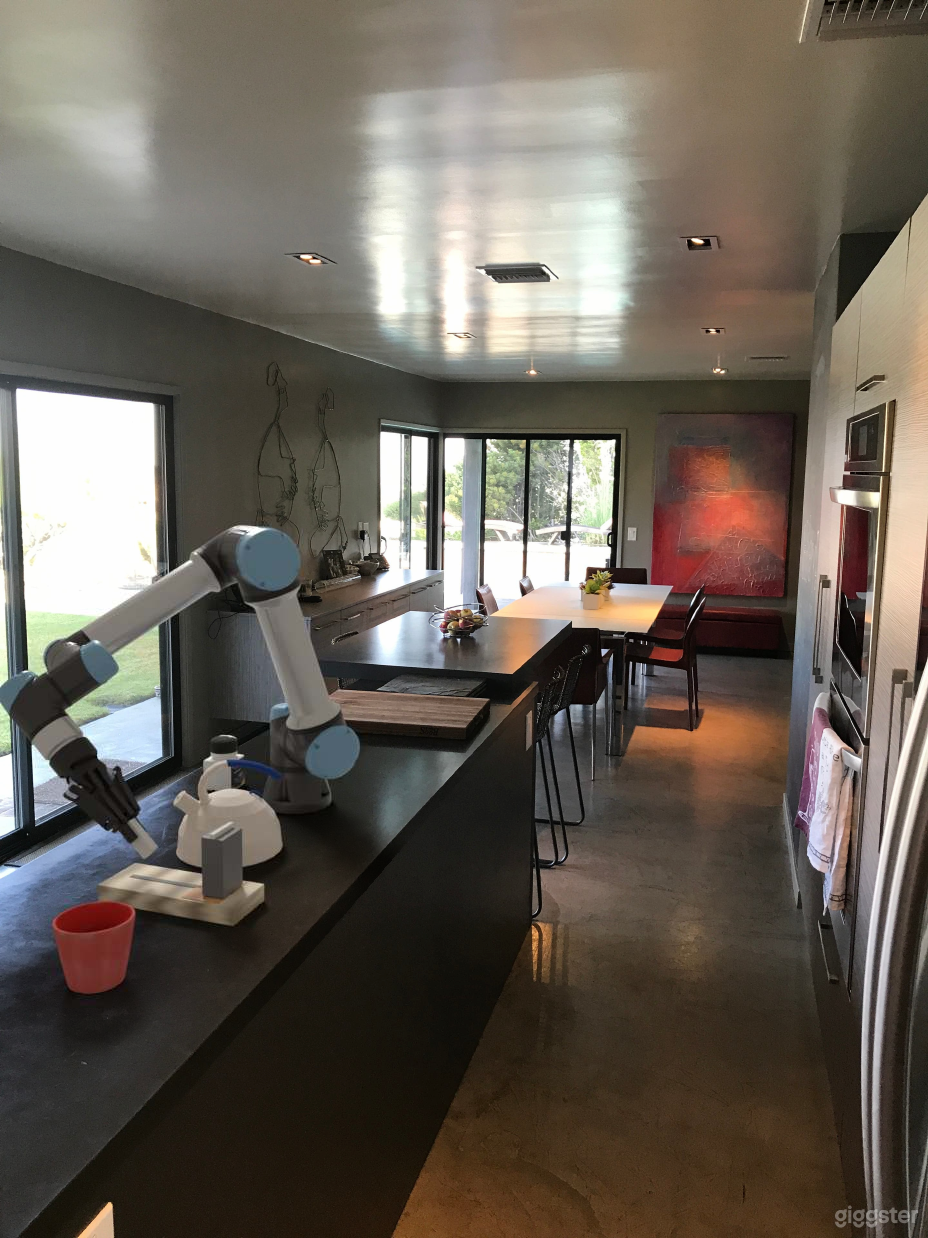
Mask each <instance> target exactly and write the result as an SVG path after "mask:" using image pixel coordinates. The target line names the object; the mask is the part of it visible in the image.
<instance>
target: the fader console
mask: <svg viewBox="0 0 928 1238" xmlns="http://www.w3.org/2000/svg"><path fill="white" fill-rule="evenodd" d="M97 891H98V892H97V895H98V896H97V897H98V898H97V900H98V901H97V902H100V901H114V902H121V903H125V904H128V905H130V906H131V907H133V908H134V909H136V910H142V911H143V910H144V911H148V912H154V913H159V914H165V915H170V916H174V917H182V918H186V919H192V920H198V921H203V922H209V923H215V924H221V925H226V926H231V927H234V926H235V925H236V924H238V923H239V922H240V921H241V920H242V919H244V918H245V917H246V916H247V915H249V914H250V913H251V912H252V911H253V910H255V909H256V908H257V907H258V906H259V904H260V905H261V904H262V903H263V902H264V901H265V884H264V883H260V882H254V881H248V880H247V881H246V880H243V885H241V886H240V887H239V888H237V889H236V890H235V891H233V892H232V893H231V894H229V895H228V896H227V897H225V898H224V899H221V898H215V897H210V896H204V895H202V873H200V872H199V873H198V872H194V871H193V872H192V871H186V870H181V869H176V868H175V869H174V868H170V867H169V868H168V867H162V866H156V865H149V864H144V863H138V862H134V863H132V864H131V865H129V866H128V867H126V868H124V869H122V870H121V871H118V872H117V873H115V874H114V875H113V876H110V877H109V878H107V879H105V880H103V881H102V882H100V883H99V884H97ZM254 908H255V909H254ZM244 916H245V917H244Z"/></svg>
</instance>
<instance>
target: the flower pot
mask: <svg viewBox="0 0 928 1238" xmlns="http://www.w3.org/2000/svg"><path fill="white" fill-rule="evenodd" d="M135 921H136V909H135V908H133V907H131V906H130V905H128V904H125V903H121V902H114V901H100V902H98V901H94V902H88V903H86V902H85V903H82V904H78V905H76V906H72V907H71V908H68V909H66V910H63V911H62V912H61V913H59V914H58V915H57V916H55V917H54V919H53V921H52V923H51V925H52V929H53V933H54V934H53V935H54V939H55V943H56V946H57V951H58V955H59V959H60V963H61V967H62V969H63V970H62V971H63V975H64V977H65V980H66V981H65V982H66V984H67V987H68V989H69V990H70V991H73V992H74V993H77V994H78V993H79V994H86V995H87V994H97V993H103V992H106V991H109V990H111V989H114V988H116V987H118V985H120V984H121V983H122V982H123V981H124V979H125V977H126V974H127V968H128V963H129V958H130V952H131V948H132V947H131V946H132V940H133V935H134V929H135V928H134V927H135Z"/></svg>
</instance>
